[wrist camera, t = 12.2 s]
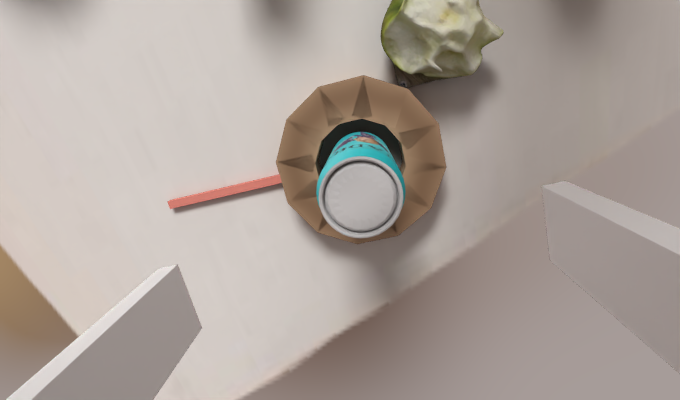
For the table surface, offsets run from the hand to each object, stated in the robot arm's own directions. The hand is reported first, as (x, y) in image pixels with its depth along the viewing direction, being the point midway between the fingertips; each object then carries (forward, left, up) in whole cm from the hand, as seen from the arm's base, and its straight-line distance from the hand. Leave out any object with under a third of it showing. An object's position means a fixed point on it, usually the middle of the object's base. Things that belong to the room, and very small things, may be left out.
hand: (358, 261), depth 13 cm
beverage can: (0, 0, -25) cm, 25 cm away
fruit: (-9, +9, -25) cm, 28 cm away
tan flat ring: (0, 0, -25) cm, 25 cm away
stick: (0, -14, -25) cm, 28 cm away
